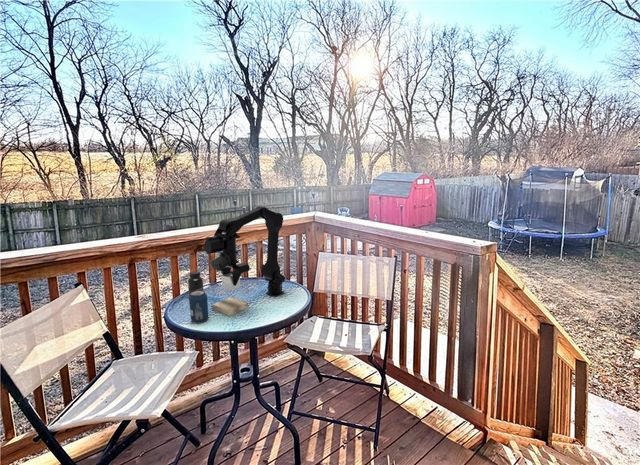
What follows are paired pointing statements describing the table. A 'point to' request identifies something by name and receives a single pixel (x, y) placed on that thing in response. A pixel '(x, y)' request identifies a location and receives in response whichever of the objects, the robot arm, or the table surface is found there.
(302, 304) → the table surface
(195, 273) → the supplement bottle
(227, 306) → the thin beige square tile
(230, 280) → the block
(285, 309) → the table surface
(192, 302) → the soda can
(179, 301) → the table surface
